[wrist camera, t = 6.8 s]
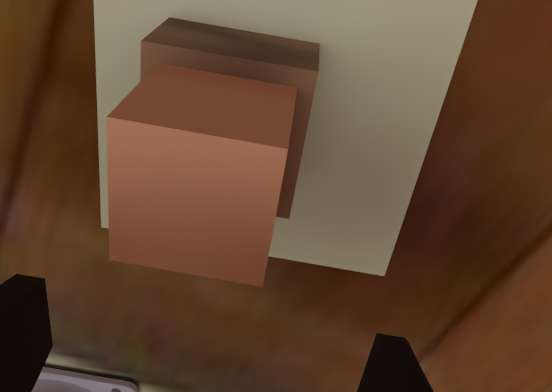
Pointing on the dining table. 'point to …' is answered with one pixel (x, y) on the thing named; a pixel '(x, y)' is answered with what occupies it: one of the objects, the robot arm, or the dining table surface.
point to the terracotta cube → (197, 172)
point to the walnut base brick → (243, 72)
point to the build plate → (323, 107)
